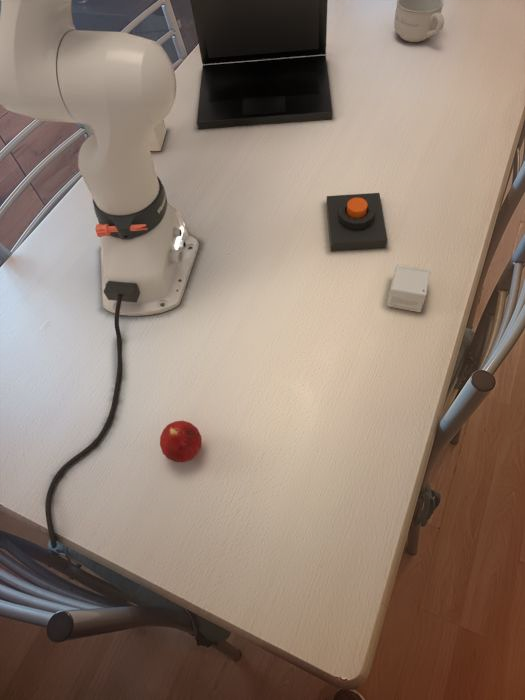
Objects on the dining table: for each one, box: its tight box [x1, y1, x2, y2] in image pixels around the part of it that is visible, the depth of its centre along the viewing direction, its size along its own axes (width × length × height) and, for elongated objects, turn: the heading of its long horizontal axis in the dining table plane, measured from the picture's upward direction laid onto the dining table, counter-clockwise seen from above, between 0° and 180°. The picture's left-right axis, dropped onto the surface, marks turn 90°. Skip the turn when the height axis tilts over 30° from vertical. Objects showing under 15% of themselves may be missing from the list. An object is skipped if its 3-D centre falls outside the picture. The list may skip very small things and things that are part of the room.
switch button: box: [347, 198, 368, 219], centre depth 90 cm, size 4×4×2 cm
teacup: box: [393, 0, 445, 43], centre depth 120 cm, size 14×11×8 cm
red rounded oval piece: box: [159, 420, 202, 463], centre depth 71 cm, size 6×6×8 cm
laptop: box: [196, 54, 333, 130], centre depth 116 cm, size 22×30×2 cm
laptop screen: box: [190, 0, 329, 66], centre depth 111 cm, size 22×30×1 cm
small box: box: [386, 263, 431, 313], centre depth 83 cm, size 6×6×5 cm
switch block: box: [325, 192, 388, 252], centre depth 92 cm, size 12×10×4 cm
